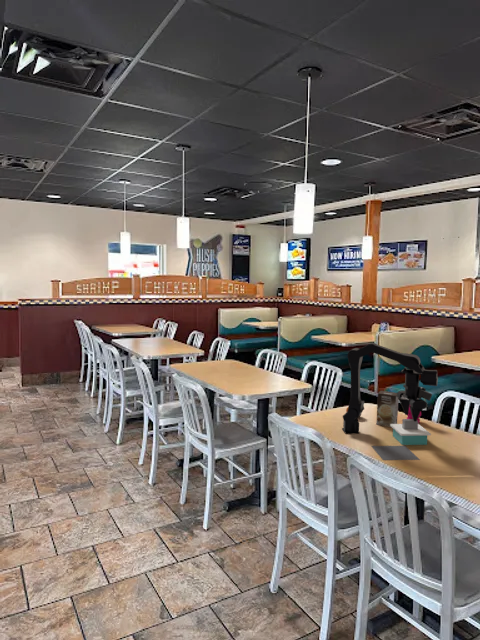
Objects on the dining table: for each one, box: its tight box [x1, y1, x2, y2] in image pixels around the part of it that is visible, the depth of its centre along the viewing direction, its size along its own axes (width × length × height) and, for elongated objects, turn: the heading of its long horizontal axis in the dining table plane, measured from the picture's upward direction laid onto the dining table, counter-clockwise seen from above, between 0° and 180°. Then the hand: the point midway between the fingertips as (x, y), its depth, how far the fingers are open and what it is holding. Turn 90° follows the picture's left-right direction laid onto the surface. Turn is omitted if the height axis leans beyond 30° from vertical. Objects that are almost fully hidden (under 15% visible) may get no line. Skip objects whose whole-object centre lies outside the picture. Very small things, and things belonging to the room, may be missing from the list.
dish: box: [392, 428, 428, 446], centre depth 202 cm, size 11×11×5 cm
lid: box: [390, 418, 432, 436], centre depth 201 cm, size 13×13×5 cm
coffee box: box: [376, 390, 399, 428], centre depth 224 cm, size 9×6×16 cm
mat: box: [371, 445, 421, 461], centre depth 188 cm, size 15×15×1 cm
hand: (410, 418), depth 201 cm, fingers open, 9 cm apart
